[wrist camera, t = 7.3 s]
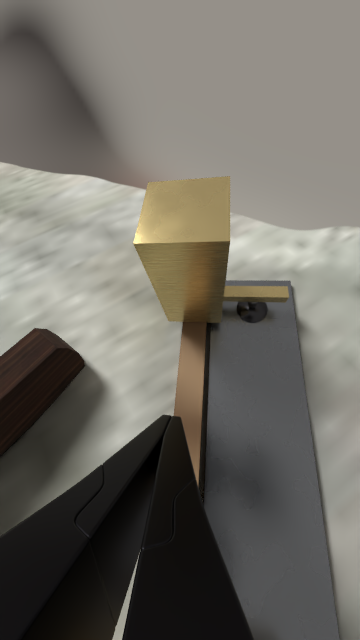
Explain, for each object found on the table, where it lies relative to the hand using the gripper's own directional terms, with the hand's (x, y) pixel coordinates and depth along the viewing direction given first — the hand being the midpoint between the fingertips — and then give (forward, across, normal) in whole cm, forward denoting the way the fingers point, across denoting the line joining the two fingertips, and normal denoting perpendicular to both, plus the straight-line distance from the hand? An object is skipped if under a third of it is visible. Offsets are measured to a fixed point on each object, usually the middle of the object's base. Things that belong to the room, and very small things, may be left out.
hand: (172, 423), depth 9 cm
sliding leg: (+11, +3, +3) cm, 12 cm away
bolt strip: (+4, +5, -6) cm, 9 cm away
